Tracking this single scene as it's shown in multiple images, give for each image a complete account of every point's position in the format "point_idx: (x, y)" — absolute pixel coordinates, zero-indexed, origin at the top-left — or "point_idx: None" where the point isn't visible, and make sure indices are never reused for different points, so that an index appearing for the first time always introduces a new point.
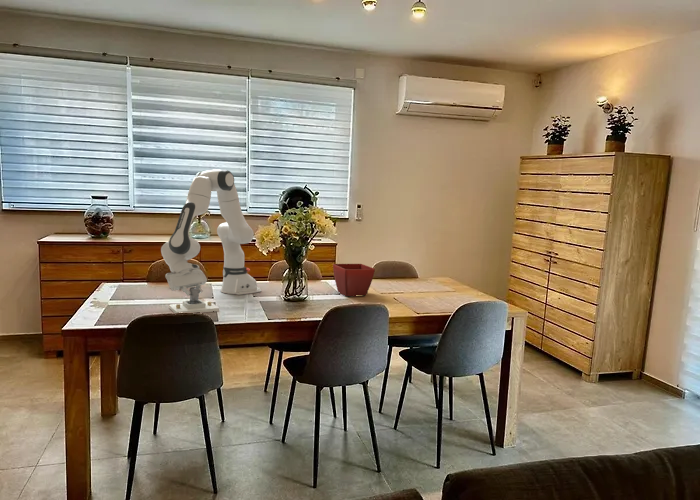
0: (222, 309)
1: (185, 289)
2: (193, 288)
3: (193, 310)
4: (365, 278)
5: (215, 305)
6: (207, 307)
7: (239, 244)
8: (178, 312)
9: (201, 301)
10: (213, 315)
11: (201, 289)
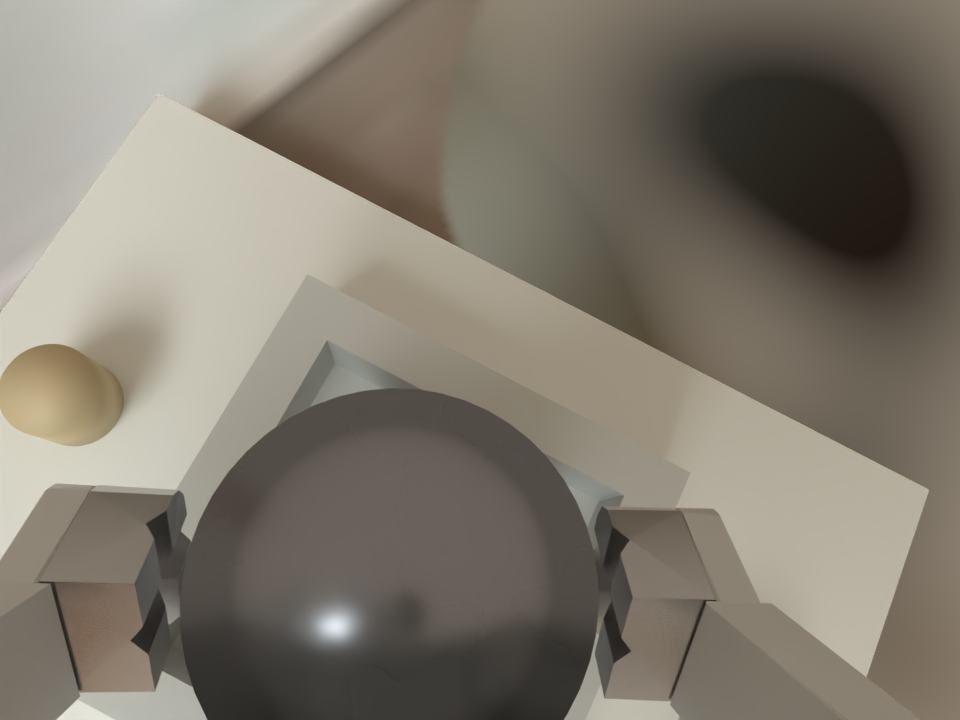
0: (39, 151)
1: (864, 677)
2: (479, 561)
3: (628, 335)
4: None
5: (34, 274)
6: (280, 285)
7: None
8: (888, 473)
9: (206, 499)
10: (463, 24)
11: (24, 531)
